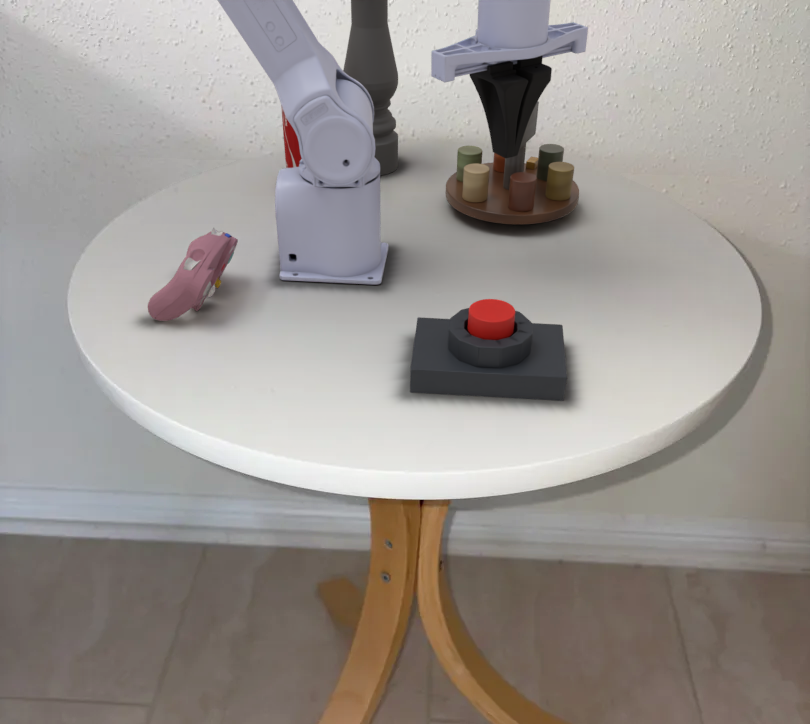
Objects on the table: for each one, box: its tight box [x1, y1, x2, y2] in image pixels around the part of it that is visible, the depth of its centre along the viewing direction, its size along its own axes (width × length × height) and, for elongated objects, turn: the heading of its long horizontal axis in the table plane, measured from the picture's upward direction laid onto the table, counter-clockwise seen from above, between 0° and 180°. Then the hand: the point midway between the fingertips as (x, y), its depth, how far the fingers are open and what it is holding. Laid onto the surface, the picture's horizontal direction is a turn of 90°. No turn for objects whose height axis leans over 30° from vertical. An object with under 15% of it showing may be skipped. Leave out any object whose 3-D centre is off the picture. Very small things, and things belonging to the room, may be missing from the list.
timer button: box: [468, 298, 516, 340], centre depth 71 cm, size 4×4×2 cm
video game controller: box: [147, 227, 239, 322], centre depth 80 cm, size 10×5×7 cm, turn 168°
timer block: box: [409, 307, 568, 402], centre depth 72 cm, size 12×8×4 cm, turn 85°
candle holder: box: [342, 0, 399, 176], centre depth 97 cm, size 6×6×25 cm
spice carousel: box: [445, 100, 580, 225], centre depth 93 cm, size 14×14×9 cm
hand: (505, 153), depth 80 cm, fingers closed
